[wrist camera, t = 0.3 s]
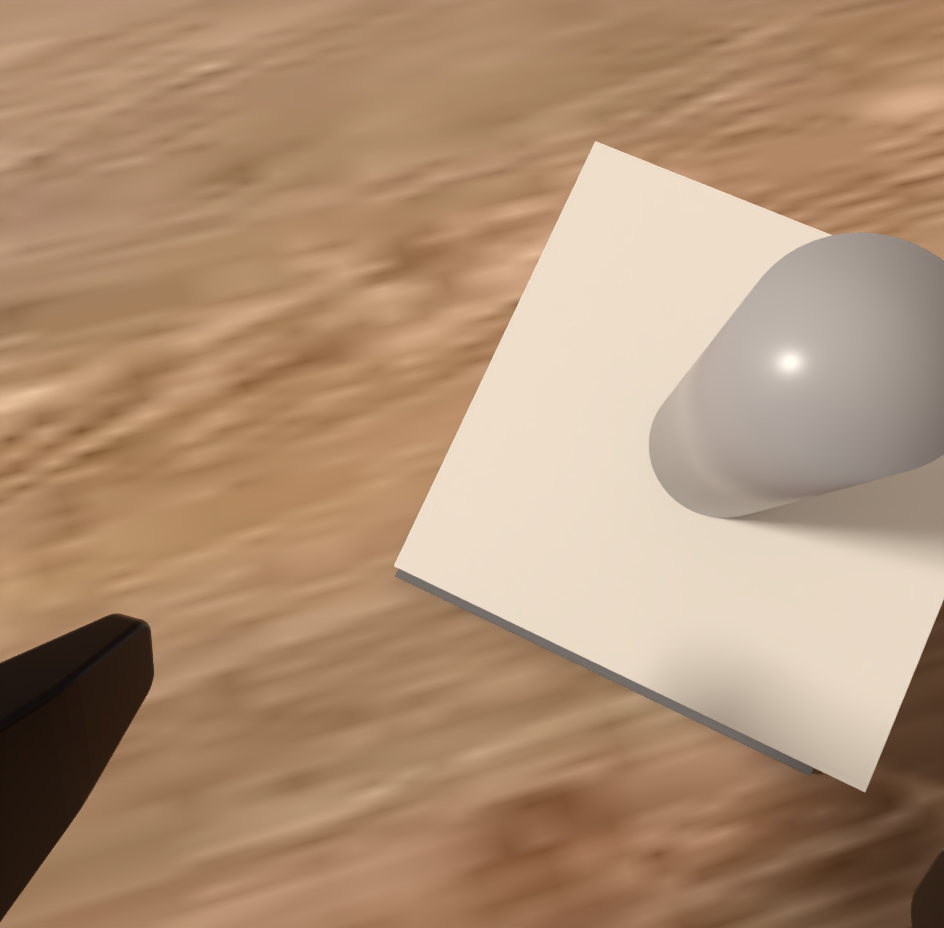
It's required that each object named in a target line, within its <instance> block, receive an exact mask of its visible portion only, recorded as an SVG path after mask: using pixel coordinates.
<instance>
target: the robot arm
mask: <svg viewBox="0 0 944 928" xmlns="http://www.w3.org/2000/svg"><path fill="white" fill-rule="evenodd" d="M153 677H154V664H153V651H152V639H151V630H150V627H149V625H148V623H147V622H145V621H144V620H141V619H137V618H134V617H130V616H126V615H123V614H111V615H108V616H106V617H103V618H101V619H99V620H97V621H94V622H92V623H90V624H87V625H85V626H83V627H81V628H78V629H76V630H74V631H72V632H69V633H67V634H65V635H62V636H60V637H58V638H56V639H53V640H51V641H49V642H47V643H44V644H42V645H40V646H37V647H35V648H33V649H31V650H28V651H26V652H24V653H22V654H19V655H17V656H15V657H13V658H10V659H8V660H6V661H3V662H1V663H0V922H1V920H2V919H3V917H4V916H5V915H6V913H7V912H8V910H9V909H10V908H11V906H12V905H13V903H14V902H15V901H16V899H17V898H18V896H19V895H20V894H21V892H22V891H23V890H24V888H25V887H26V885H27V884H28V883H29V881H30V880H31V878H32V877H33V876H34V874H35V873H36V871H37V870H38V869H39V867H40V866H41V864H42V863H43V862H44V860H45V859H46V857H47V856H48V855H49V853H50V852H51V850H52V849H53V848H54V846H55V845H56V843H57V842H58V841H59V839H60V838H61V836H62V835H63V834H64V832H65V831H66V829H67V828H68V827H69V825H70V824H71V822H72V821H73V819H74V818H75V816H76V815H77V814H78V812H79V811H80V809H81V808H82V806H83V805H84V803H85V801H86V800H87V798H88V796H89V795H90V793H91V791H92V790H93V788H94V786H95V785H96V783H97V781H98V779H99V778H100V776H101V774H102V772H103V771H104V769H105V767H106V766H107V764H108V762H109V760H110V759H111V757H112V755H113V753H114V752H115V750H116V748H117V746H118V745H119V743H120V741H121V739H122V738H123V736H124V734H125V732H126V731H127V729H128V727H129V725H130V724H131V722H132V720H133V718H134V717H135V715H136V713H137V711H138V710H139V708H140V706H141V704H142V703H143V701H144V699H145V697H146V696H147V694H148V692H149V690H150V687H151V685H152V681H153ZM911 920H912V928H944V848H943V849H942V850H941V851H940V853H939V854H938V856H937V857H936V859H935V860H934V862H933V863H932V865H931V866H930V868H929V869H928V871H927V873H926V874H925V876H924V877H923V879H922V880H921V882H920V883H919V885H918V886H917V888H916V890H915V892H914V895H913V898H912V904H911Z"/></svg>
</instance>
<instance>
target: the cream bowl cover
mask: <svg viewBox="0 0 944 928" xmlns="http://www.w3.org/2000/svg"><path fill="white" fill-rule="evenodd" d="M394 566H395V567H397V568H399V569H401V570H403V571H405V572H407V573H409V574H411V575H413V576H415V577H418V578H420V579H422V580H424V581H426V582H428V583H430V584H432V585H434V586H436V587H438V588H440V589H443V590H445V591H447V592H449V593H451V594H453V595H455V596H457V597H459V598H461V599H463V600H465V601H468V602H470V603H472V604H474V605H476V606H478V607H480V608H482V609H484V610H486V611H488V612H490V613H493V614H495V615H497V616H499V617H501V618H503V619H505V620H507V621H509V622H511V623H513V624H515V625H517V626H520V627H522V628H524V629H526V630H528V631H530V632H532V633H534V634H536V635H538V636H540V637H542V638H545V639H547V640H549V641H551V642H553V643H555V644H557V645H559V646H561V647H563V648H565V649H567V650H570V651H572V652H574V653H576V654H578V655H580V656H582V657H584V658H586V659H588V660H590V661H592V662H595V663H597V664H599V665H601V666H603V667H605V668H607V669H609V670H611V671H613V672H615V673H617V674H620V675H622V676H624V677H626V678H628V679H630V680H632V681H634V682H636V683H638V684H640V685H642V686H644V687H647V688H649V689H651V690H653V691H655V692H657V693H659V694H661V695H663V696H665V697H667V698H669V699H672V700H674V701H676V702H678V703H680V704H682V705H684V706H686V707H688V708H690V709H692V710H694V711H697V712H699V713H701V714H703V715H705V716H707V717H709V718H711V719H713V720H715V721H717V722H719V723H722V724H724V725H726V726H728V727H730V728H732V729H734V730H736V731H738V732H740V733H742V734H744V735H747V736H749V737H751V738H753V739H755V740H757V741H759V742H761V743H763V744H765V745H767V746H769V747H771V748H774V749H776V750H778V751H780V752H782V753H784V754H786V755H788V756H790V757H792V758H794V759H796V760H799V761H801V762H803V763H805V764H807V765H809V766H811V767H813V768H815V769H817V770H819V771H821V772H824V773H826V774H828V775H830V776H832V777H834V778H836V779H838V780H840V781H842V782H844V783H846V784H849V785H851V786H853V787H855V788H857V789H859V790H861V791H863V792H866V789H867V787H868V785H869V782H870V780H871V777H872V775H873V772H874V770H875V767H876V765H877V762H878V760H879V757H880V755H881V753H882V750H883V748H884V745H885V743H886V740H887V738H888V735H889V733H890V730H891V728H892V726H893V723H894V721H895V718H896V716H897V713H898V711H899V708H900V706H901V703H902V701H903V698H904V696H905V694H906V691H907V689H908V686H909V684H910V681H911V679H912V676H913V674H914V671H915V669H916V666H917V664H918V662H919V659H920V657H921V654H922V652H923V649H924V647H925V644H926V642H927V639H928V637H929V634H930V632H931V630H932V627H933V625H934V622H935V620H936V617H937V615H938V612H939V610H940V607H941V605H942V602H943V600H944V261H943V260H942V259H941V258H939V257H938V256H936V255H934V254H933V253H931V252H930V251H928V250H926V249H924V248H922V247H920V246H918V245H916V244H913V243H911V242H908V241H905V240H902V239H899V238H896V237H892V236H887V235H882V234H874V233H844V234H838V235H830V234H827V233H825V232H822V231H820V230H817V229H815V228H812V227H810V226H807V225H805V224H802V223H800V222H797V221H795V220H792V219H790V218H787V217H785V216H782V215H780V214H777V213H775V212H772V211H769V210H767V209H764V208H762V207H759V206H757V205H754V204H752V203H749V202H747V201H744V200H742V199H739V198H737V197H734V196H732V195H729V194H727V193H724V192H722V191H719V190H717V189H714V188H712V187H709V186H707V185H704V184H702V183H699V182H696V181H694V180H691V179H689V178H686V177H684V176H681V175H679V174H676V173H674V172H671V171H669V170H666V169H664V168H661V167H659V166H656V165H654V164H651V163H649V162H646V161H644V160H641V159H639V158H636V157H634V156H631V155H628V154H626V153H623V152H621V151H618V150H616V149H613V148H611V147H608V146H606V145H603V144H601V143H598V142H596V141H595V143H594V145H593V147H592V150H591V152H590V154H589V156H588V158H587V160H586V162H585V164H584V166H583V168H582V171H581V173H580V175H579V177H578V179H577V181H576V183H575V185H574V187H573V190H572V192H571V194H570V196H569V198H568V200H567V202H566V204H565V206H564V209H563V211H562V213H561V215H560V217H559V219H558V221H557V223H556V225H555V227H554V230H553V232H552V234H551V236H550V238H549V240H548V242H547V244H546V246H545V249H544V251H543V253H542V255H541V257H540V259H539V261H538V263H537V265H536V268H535V270H534V272H533V274H532V276H531V278H530V280H529V282H528V284H527V287H526V289H525V291H524V293H523V295H522V297H521V299H520V301H519V303H518V305H517V308H516V310H515V312H514V314H513V316H512V318H511V320H510V322H509V324H508V327H507V329H506V331H505V333H504V335H503V337H502V339H501V341H500V343H499V346H498V348H497V350H496V352H495V354H494V356H493V358H492V360H491V362H490V364H489V367H488V369H487V371H486V373H485V375H484V377H483V379H482V381H481V383H480V386H479V388H478V390H477V392H476V394H475V396H474V398H473V400H472V402H471V405H470V407H469V409H468V411H467V413H466V415H465V417H464V419H463V421H462V423H461V426H460V428H459V430H458V432H457V434H456V436H455V438H454V440H453V442H452V445H451V447H450V449H449V451H448V453H447V455H446V457H445V459H444V461H443V464H442V466H441V468H440V470H439V472H438V474H437V476H436V478H435V480H434V482H433V485H432V487H431V489H430V491H429V493H428V495H427V497H426V499H425V501H424V504H423V506H422V508H421V510H420V512H419V514H418V516H417V518H416V520H415V523H414V525H413V527H412V529H411V531H410V533H409V535H408V537H407V539H406V542H405V544H404V546H403V548H402V550H401V552H400V554H399V556H398V558H397V560H396V563H395V565H394Z"/></svg>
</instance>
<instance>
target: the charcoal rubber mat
mask: <svg viewBox="0 0 944 928" xmlns="http://www.w3.org/2000/svg"><path fill="white" fill-rule="evenodd" d="M395 576H396V577H398V578H400V579H402V580H404V581H406V582H408V583H410V584H412V585H414V586H416V587H419V588H421V589H423V590H425V591H427V592H429V593H431V594H433V595H435V596H437V597H439V598H441V599H443V600H445V601H448V602H450V603H452V604H454V605H456V606H458V607H460V608H462V609H464V610H466V611H468V612H470V613H472V614H475V615H477V616H479V617H481V618H483V619H485V620H487V621H489V622H491V623H493V624H495V625H497V626H499V627H502V628H504V629H506V630H508V631H510V632H512V633H514V634H516V635H518V636H520V637H522V638H524V639H526V640H529V641H531V642H533V643H535V644H537V645H539V646H541V647H543V648H545V649H547V650H549V651H551V652H553V653H555V654H558V655H560V656H562V657H564V658H566V659H568V660H570V661H572V662H574V663H576V664H578V665H580V666H582V667H585V668H587V669H589V670H591V671H593V672H595V673H597V674H599V675H601V676H603V677H605V678H607V679H609V680H612V681H614V682H616V683H618V684H620V685H622V686H624V687H626V688H628V689H630V690H632V691H634V692H636V693H638V694H641V695H643V696H645V697H647V698H649V699H651V700H653V701H655V702H657V703H659V704H661V705H663V706H665V707H668V708H670V709H672V710H674V711H676V712H678V713H680V714H682V715H684V716H686V717H688V718H690V719H692V720H695V721H697V722H699V723H701V724H703V725H705V726H707V727H709V728H711V729H713V730H715V731H717V732H719V733H721V734H724V735H726V736H728V737H730V738H732V739H734V740H736V741H738V742H740V743H742V744H744V745H746V746H748V747H751V748H753V749H755V750H757V751H759V752H761V753H763V754H765V755H767V756H769V757H771V758H773V759H775V760H778V761H780V762H782V763H784V764H786V765H788V766H790V767H792V768H794V769H796V770H798V771H800V772H802V773H804V774H807V775H809V776H811V773H812V771H813V769H814V768H813V767H811V766H809V765H807V764H805V763H803V762H801V761H799V760H796V759H794V758H792V757H790V756H788V755H786V754H784V753H782V752H780V751H778V750H776V749H774V748H771V747H769V746H767V745H765V744H763V743H761V742H759V741H757V740H755V739H753V738H751V737H749V736H747V735H744V734H742V733H740V732H738V731H736V730H734V729H732V728H730V727H728V726H726V725H724V724H722V723H719V722H717V721H715V720H713V719H711V718H709V717H707V716H705V715H703V714H701V713H699V712H697V711H694V710H692V709H690V708H688V707H686V706H684V705H682V704H680V703H678V702H676V701H674V700H672V699H669V698H667V697H665V696H663V695H661V694H659V693H657V692H655V691H653V690H651V689H649V688H647V687H644V686H642V685H640V684H638V683H636V682H634V681H632V680H630V679H628V678H626V677H624V676H622V675H620V674H617V673H615V672H613V671H611V670H609V669H607V668H605V667H603V666H601V665H599V664H597V663H595V662H592V661H590V660H588V659H586V658H584V657H582V656H580V655H578V654H576V653H574V652H572V651H570V650H567V649H565V648H563V647H561V646H559V645H557V644H555V643H553V642H551V641H549V640H547V639H545V638H542V637H540V636H538V635H536V634H534V633H532V632H530V631H528V630H526V629H524V628H522V627H520V626H517V625H515V624H513V623H511V622H509V621H507V620H505V619H503V618H501V617H499V616H497V615H495V614H493V613H490V612H488V611H486V610H484V609H482V608H480V607H478V606H476V605H474V604H472V603H470V602H468V601H465V600H463V599H461V598H459V597H457V596H455V595H453V594H451V593H449V592H447V591H445V590H443V589H440V588H438V587H436V586H434V585H432V584H430V583H428V582H426V581H424V580H422V579H420V578H418V577H415V576H413V575H411V574H409V573H407V572H405V571H403V570H401V569H398V571H397V573H396V575H395Z"/></svg>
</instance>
